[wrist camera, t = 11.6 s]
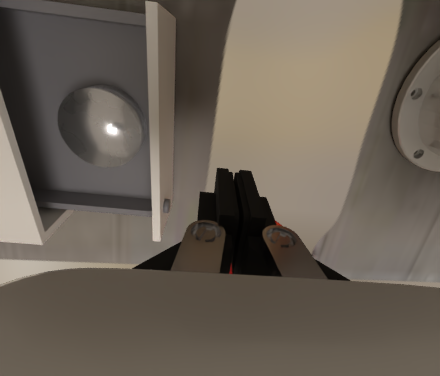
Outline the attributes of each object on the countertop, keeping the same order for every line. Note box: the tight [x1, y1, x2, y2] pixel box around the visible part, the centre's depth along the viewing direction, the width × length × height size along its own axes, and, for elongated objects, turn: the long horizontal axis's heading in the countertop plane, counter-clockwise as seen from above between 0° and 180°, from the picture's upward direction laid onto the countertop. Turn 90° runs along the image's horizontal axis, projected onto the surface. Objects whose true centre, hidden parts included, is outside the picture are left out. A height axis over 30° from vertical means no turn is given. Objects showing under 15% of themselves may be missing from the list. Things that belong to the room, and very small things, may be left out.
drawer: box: [0, 0, 176, 241], centre depth 18 cm, size 17×16×6 cm
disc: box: [57, 85, 147, 167], centre depth 19 cm, size 6×6×2 cm
